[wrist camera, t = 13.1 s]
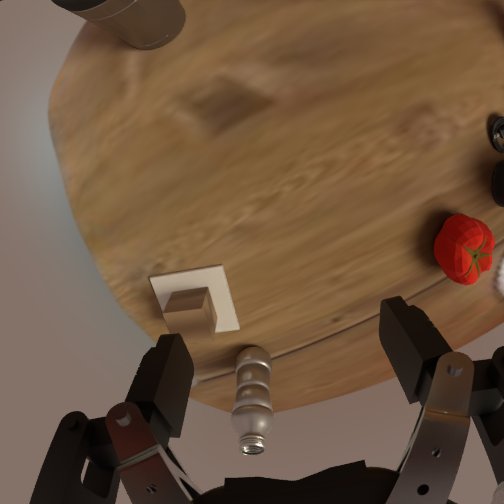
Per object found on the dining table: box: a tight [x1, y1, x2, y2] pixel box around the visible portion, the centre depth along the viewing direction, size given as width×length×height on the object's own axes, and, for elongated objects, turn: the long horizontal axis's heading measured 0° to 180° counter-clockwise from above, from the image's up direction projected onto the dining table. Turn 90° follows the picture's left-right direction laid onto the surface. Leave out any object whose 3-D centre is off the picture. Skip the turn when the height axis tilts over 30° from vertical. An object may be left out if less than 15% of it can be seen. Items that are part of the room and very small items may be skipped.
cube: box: [162, 287, 218, 344], centre depth 42 cm, size 6×6×6 cm
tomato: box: [434, 214, 495, 285], centre depth 37 cm, size 11×12×9 cm
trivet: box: [150, 264, 240, 332], centre depth 45 cm, size 12×12×1 cm
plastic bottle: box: [231, 347, 274, 456], centre depth 41 cm, size 6×7×20 cm
